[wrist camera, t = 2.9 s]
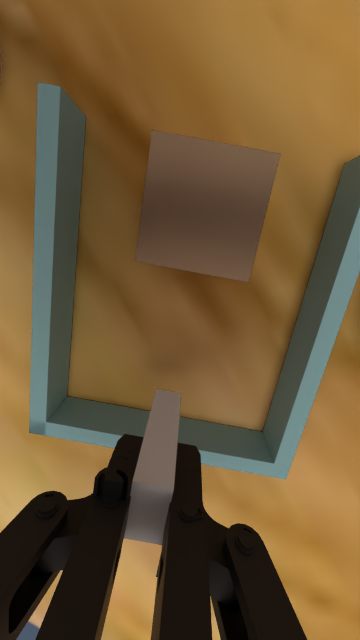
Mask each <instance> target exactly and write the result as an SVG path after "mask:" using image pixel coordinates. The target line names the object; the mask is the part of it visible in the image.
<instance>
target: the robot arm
mask: <svg viewBox="0 0 360 640" xmlns="http://www.w3.org/2000/svg"><path fill="white" fill-rule="evenodd" d="M180 404H181V393H177V392H172V391H166V390H161V389H156V392H155V396H154V400H153V404H152V408H151V411H150V415H149V419H148V423H147V427H146V431H145V435H144V437H140V436H135V435H129V434H124V435H123V436H122V437H121V438H120V439H119V440H118V441H117V444H116V446H115V449H114V451H113V454H112V457H111V459H110V462H109V464H108V467H107V468H104V469H103V470H101V471H100V472H99V473H98V474H97V476H96V477H95V482H94V491H93V494H91V495H89V496H87V497H85V498H81V499H75V500H67V498H66V496H65V495H63V494H62V493H61V492H57V491H48V492H44V493H42V494H39V495H37V496H36V497H35V498H34V499H32V500H31V501H30V502H29V503H28V504H27V505H26V506H25V507H24V509H23V510H22V511H21V512H20V513H19V514H18V515H17V516H16V517H15V518H14V519H13V520H12V521H11V522H10V523H9V524H8V525H7V526H6V528H5V529H4V530H3V531H2V532H1V533H0V640H16V639H17V637H18V636H19V634H20V633H21V631H22V629H23V628H24V626H25V624H26V623H27V622H28V620H29V619H30V617H31V615H32V614H33V612H34V611H35V609H36V608H37V606H38V605H39V603H40V601H41V600H42V598H43V597H44V595H45V594H46V592H47V590H48V589H49V587H50V586H51V584H52V583H53V581H54V580H55V578H56V576H57V575H58V573H59V572H60V570H63V572H62V575H61V577H60V580H59V582H58V585H57V587H56V590H55V592H54V595H53V597H52V600H51V602H50V605H49V607H48V610H47V612H46V615H45V617H44V620H43V622H42V625H41V627H40V630H39V632H38V635H37V637H36V640H101V636H102V632H103V627H104V623H105V619H106V614H107V610H108V606H109V602H110V597H111V593H112V589H113V584H114V580H115V576H116V572H117V567H118V563H119V559H120V554H121V548H122V543H123V538H126V539H132V540H137V541H143V542H148V543H154V544H159V545H162V552H161V556H160V561H159V566H158V570H157V575H156V577H158V579H157V588H156V597H155V606H154V615H153V625H152V634H151V640H212V626H211V605H210V596H211V600H212V604H213V608H214V612H215V617H216V621H217V625H218V629H219V634H220V638H221V640H307V638H306V636H305V634H304V631H303V629H302V627H301V625H300V623H299V620H298V618H297V616H296V614H295V611H294V609H293V607H292V605H291V602H290V600H289V598H288V596H287V594H286V591H285V589H284V587H283V585H282V582H281V580H280V578H279V576H278V573H277V571H276V569H275V567H274V565H273V562H272V560H271V558H270V556H269V553H268V551H267V549H266V547H265V545H264V542H263V540H262V539H261V537H260V536H259V534H258V533H257V532H256V531H255V530H254V529H253V528H251V527H249V526H247V525H245V524H239V523H238V524H234V525H232V526H231V527H230V528H229V529H228V528H226V527H225V526H223V525H221V524H219V523H217V522H216V521H214V520H213V519H212V518H211V517H210V516H209V515H208V514H207V512H206V511H205V509H204V506H203V501H202V478H201V454H200V452H199V450H198V449H197V447H196V446H194V445H189V444H183V443H178V429H179V417H180Z"/></svg>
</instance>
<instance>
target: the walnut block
mask: <svg viewBox="0 0 360 640" xmlns="http://www.w3.org/2000/svg"><path fill="white" fill-rule="evenodd" d="M279 158H280V153H274V152H269V151H264V150H258V149H253V148H248V147H242V146H237V145H231V144H226V143H221V142H215V141H210V140H204V139H199V138H194V137H188V136H183V135H177V134H172V133H167V132H161V131H156V130H152V133H151V141H150V149H149V156H148V164H147V172H146V179H145V187H144V195H143V203H142V210H141V218H140V226H139V234H138V241H137V249H136V257H135V261H136V262H141V263H146V264H152V265H157V266H163V267H168V268H173V269H179V270H184V271H190V272H195V273H200V274H206V275H211V276H217V277H222V278H227V279H233V280H238V281H244V282H249V279H250V275H251V271H252V267H253V263H254V259H255V255H256V251H257V247H258V243H259V239H260V235H261V231H262V227H263V223H264V219H265V215H266V211H267V207H268V203H269V199H270V195H271V191H272V186H273V182H274V178H275V174H276V170H277V166H278V162H279Z"/></svg>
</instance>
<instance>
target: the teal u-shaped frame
mask: <svg viewBox="0 0 360 640" xmlns="http://www.w3.org/2000/svg"><path fill="white" fill-rule="evenodd" d="M85 125H86V116H85V115H84V114H83V112H82V111H81V110H80V109H79V108H78V107H77V105H76V104H75V103H74V102H73V101H72V100H71V98H70V97H69V96H68V95H67V94H66V92H65V91H64V90H63V89H62V88H61V87H60V86H56V85H50V84H45V83H39V82H38V94H37V135H36V177H35V219H34V261H33V303H32V345H31V386H30V428H29V433H34V434H39V435H45V436H50V437H56V438H61V439H67V440H72V441H78V442H83V443H89V444H94V445H100V446H105V447H111V448H115V446H116V444H117V441H118V440H119V439H120V438H121V437H122V436H123V435H124V434H129V435H135V436H140V437H144V435H145V431H146V427H147V423H148V419H149V415H150V411H146V410H140V409H135V408H129V407H124V406H118V405H113V404H107V403H102V402H96V401H91V400H85V399H80V398H74V397H69V396H67V394H68V379H69V364H70V349H71V334H72V319H73V304H74V289H75V274H76V259H77V244H78V229H79V214H80V199H81V184H82V170H83V155H84V140H85ZM359 272H360V156H358V157H356V158H354V159H352V160H351V161H349V162H347V163H345V164H344V168H343V171H342V174H341V177H340V181H339V184H338V187H337V190H336V194H335V197H334V200H333V204H332V207H331V210H330V213H329V217H328V220H327V223H326V226H325V230H324V233H323V236H322V239H321V243H320V246H319V249H318V252H317V256H316V259H315V262H314V266H313V269H312V272H311V275H310V279H309V282H308V285H307V288H306V292H305V295H304V298H303V301H302V305H301V308H300V311H299V315H298V318H297V321H296V324H295V328H294V331H293V334H292V337H291V341H290V344H289V347H288V350H287V354H286V357H285V360H284V363H283V367H282V370H281V373H280V377H279V380H278V383H277V386H276V390H275V393H274V396H273V399H272V403H271V406H270V409H269V412H268V416H267V419H266V422H265V425H264V429H263V432H261V431H255V430H250V429H244V428H239V427H233V426H228V425H222V424H217V423H211V422H206V421H200V420H195V419H190V418H184V417H179V429H178V443H183V444H189V445H194V446H196V447H197V449H198V450H199V452H200V454H201V464H204V465H209V466H215V467H220V468H226V469H231V470H237V471H242V472H247V473H253V474H258V475H264V476H269V477H275V478H280V479H286V477H287V475H288V472H289V469H290V466H291V463H292V460H293V458H294V455H295V452H296V449H297V446H298V444H299V441H300V438H301V435H302V432H303V429H304V427H305V424H306V421H307V418H308V415H309V413H310V410H311V407H312V404H313V401H314V398H315V396H316V393H317V390H318V387H319V384H320V382H321V379H322V376H323V373H324V370H325V368H326V365H327V362H328V359H329V356H330V353H331V351H332V348H333V345H334V342H335V339H336V337H337V334H338V331H339V328H340V325H341V322H342V320H343V317H344V314H345V311H346V308H347V306H348V303H349V300H350V297H351V294H352V291H353V289H354V286H355V283H356V280H357V277H358V275H359Z"/></svg>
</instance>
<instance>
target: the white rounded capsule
mask: <svg viewBox="0 0 360 640" xmlns="http://www.w3.org/2000/svg"><path fill="white" fill-rule="evenodd" d="M2 70H3V60H2V52H1V47H0V82H1V78H2Z"/></svg>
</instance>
